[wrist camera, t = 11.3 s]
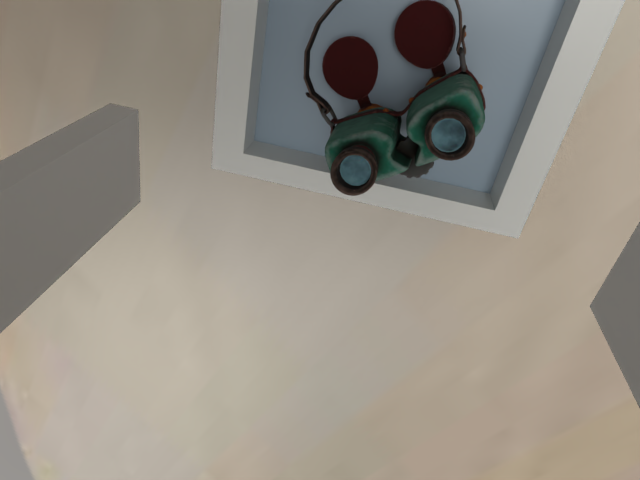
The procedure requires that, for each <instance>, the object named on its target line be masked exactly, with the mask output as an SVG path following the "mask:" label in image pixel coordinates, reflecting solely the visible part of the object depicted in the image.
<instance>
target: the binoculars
mask: <svg viewBox="0 0 640 480" xmlns="http://www.w3.org/2000/svg"><path fill="white" fill-rule="evenodd" d="M341 1H342V0H335V1H334V2H333V3H332V4H331V5H330V7H329V8H328V9H327V10H326V11H325V13H324V14H323V15H322V16H321V18H320V19H319V20H318V21H317V22H316V24H315V27H314V29H313V32H312V34H311V37H310V39H309V42H308V44H307V47H306V49H305V52H304V76H303V78H304V81H305V84H306V86H307V89H308V91H309V93H308V92H306V96H307V97H308V98H311V99H312V100H313V101H315V102H316V103H317V106H318V108H319V110H320V113H321V115H322V117H323V118H324V119H325V121H326V122H327V124H328V125H330V127H331V131H330V134H331V135H330V137H329V139H328V141H327V143H326V146H325V158H326V162H327V165H328V167H329V170H330V176H331V180H332V183H333V185H334V186H335V188H336V189H337V190H338V191H340V192H341V193H343V194H346V195H350V196H356V195H360V194H363V193H365V192H367V191H368V190H369V189H370V188H371V187H372V186H373V184H374V183H375V181H379V180H382V179H385V178H389V177H392V176H394V175H397V174H401V175H405V176H407V178H412V177H416V178H420V176H421V175H423V174H425V175H426V174H427V173H428V172H429V169H430V168H432V167H433V165H434V161H436V160H438V159H443V160H448V161H453V160H458V159H461V158H463V157H465V156H466V155H467V154H468V153H469V152H470V151H471V150H472V148H473V146H474V143H475V137H476V136H477V135H478V134H479V133H480V132H481V130H482V128H483V126H484V123H485V112H484V110H485V108H486V105H485V98H484V95H483V93H482V89H483V86H482V85H481V84H479V83H478V81H477V79H476V78H475V77H474V75H473V74H472V73H471V72H470V71H469V70H468V68H467V65H466V60H465V55H466V47H465V41H464V38H465V37H466V32H465V30H466V25H464V26H463V28H462V11H461V8H460V4H459V1H458V0H455V3H456V6H457V9H458V15H459V39H458V43H457V47H456V51H457V54H458V56H459V60H460V67H459V69H457V70H456V71H453V72H450V73H448V74H446V71H445V67H444V64H443V62H444V61H445V60H446V59H447V58H448V56H449V54H450V52H451V51H452V48H453V45H454V42H455V36H456V25H455V20H454V17H453V15H452V13H451V12H450V10H449V9H448V8H447V7H446V6H444V5H443V4H441V3H439V2H436V1H431V0H420V1H417V2H414V3H413V4H411V5H409V6H408V7H407V8H406V9H405V10H404V11H403V12H402V13H401V14H400V16H399V17H398V20H397V22H396V25H395V30H394V39H395V43H396V46H397V48H398V50H399V52H400V53H401V55H402V56H403V57H404V58H405V59H406V60H407V61H408V62H410V63H411V64H413V65H414V66H417V67H419V68H423V69H432V73H433V77H432V78H430V79H429V81H428V82H427V83H426V86H425V87H424V88H423V89H421V90H420V91H419V92H418V93H417V94H416V95H415V96H414V97H411V98H410V99H409V104H408V106H407V107H406V108H405V109H404V110H402V111H398V112H397V111H395V110H393V109H390V108H386V107H382V106H380V105H378V104H373V103H371V102H370V99H369V96H368V94H369V93H370V92H371V91H372V89H373V87H374V85H375V83H376V79H377V76H378V59H377V55H376V53H375V51H374V49H373V47H372V46H371V45H370V44H369V43H368V42H367V41H365V40H364V39H362V38H359V37H355V36H345V37H342V38H339V39H338V40H336V41H334V42H333V43H332V44H331V45H330V46H329V47H328V49H327V51H326V52H325V55H324V57H323V63H322V69H323V74H324V78H325V80H326V82H327V83H328V85H329V86H330V87H331V88H332V89H333V90H334V91H335V92H336V93H337V94H339V95H341V96H342V97H345V98H347V99H351V100H357V101H358V104H359V106H360V109H359V111H358V112H357V113H355V114H351V115H348V116H346V117H344V118H341V119H337V117H336V115H335V113H334V111H333V109H332V107H331V105H330V104H329V103H328V102H327V101H326V100H325V99H324V98H322V97H321V96H320V95H319V94H318V93H316V92H315V90H314V87H313V84H312V82H311V79H310V76H309V69H310V50H311V48H312V46H313V43H314V41H315V38H316V36H317V33H318V31H319V28H320V26H321V24H322V22H323V21H324V20H325V19H326V18H327V16H328V15H329V14H330V13H331V12H332V10H333V9H334V8H335V7H336V5H337V4H338V3H340V2H341ZM461 42H462V47H463V48H462V47H460V45H461ZM407 110H408V113H407V118H406V131H407V135H408V136H407V137H404V136H403V135H401V134H400V128H401V123H402V119H401V116H402V115H403V114H405V113H406V112H407ZM329 112H330V114H331V115H332V117H333V119H332V120H331V121H330V119H329V118H328V117H327V115H326V114H328V113H329ZM335 124H337V125H336V126H335Z"/></svg>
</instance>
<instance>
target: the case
mask: <svg viewBox="0 0 640 480" xmlns="http://www.w3.org/2000/svg"><path fill="white" fill-rule="evenodd" d="M334 1H335V0H222V2H221V18H220V34H219V51H218V67H217V83H216V99H215V116H214V132H213V148H212V165H211V168H212V169H217V170H221V171H225V172H230V173H234V174H238V175H243V176H247V177H251V178H256V179H260V180H265V181H269V182H273V183H278V184H282V185H286V186H291V187H295V188H299V189H304V190H308V191H313V192H317V193H321V194H326V195H330V196H334V197H339V198H343V199H347V200H352V201H356V202H361V203H365V204H369V205H374V206H378V207H382V208H387V209H391V210H396V211H400V212H404V213H409V214H413V215H417V216H422V217H426V218H430V219H435V220H439V221H444V222H448V223H452V224H457V225H461V226H465V227H470V228H474V229H478V230H483V231H487V232H492V233H496V234H500V235H505V236H509V237H513V238H519V236H520V234H521V231H522V229H523V227H524V225H525V223H526V220H527V218H528V216H529V214H530V211H531V209H532V207H533V205H534V202H535V200H536V198H537V196H538V194H539V191H540V189H541V187H542V185H543V182H544V180H545V178H546V176H547V174H548V171H549V169H550V167H551V165H552V162H553V160H554V158H555V156H556V153H557V151H558V149H559V147H560V145H561V142H562V140H563V138H564V136H565V133H566V131H567V129H568V127H569V124H570V122H571V120H572V118H573V116H574V113H575V111H576V109H577V107H578V104H579V102H580V100H581V98H582V96H583V93H584V91H585V89H586V87H587V84H588V82H589V80H590V78H591V75H592V73H593V71H594V69H595V67H596V64H597V62H598V60H599V58H600V55H601V53H602V51H603V49H604V47H605V44H606V42H607V40H608V38H609V35H610V33H611V31H612V29H613V26H614V24H615V22H616V20H617V18H618V15H619V13H620V11H621V9H622V6H623V4H624V2H625V0H458V1H459V4H460V8H461V11H462V28H463V26H464V25H466V30H465V32H466V37H465V38H464V41H465V47H466V55H465V60H466V65H467V68H468V70H469V71H470V72H471V73H472V74H473V75H474V77H475V78H476V79H477V81H478V83H479V84H481V85H482V86H483V89H482V93H483V95H484V98H485V105H486V108H485V110H484V112H485V123H484V126H483V128H482V130H481V132H480V133H479V134H478V135H477V136H476V137H475V143H474V146H473V148H472V150H471V151H470V152H469V153H468V154H467V155H466V156H465V157H463V158H461V159H458V160H453V161H448V160H443V159H438V160H436V161H434V165H433V167H432V168H430V169H429V172H428V173H427V174H426V175H425V174H423V175H421V176H420V178H416V177H412V178H407V176H405V175H401V174H397V175H394V176H392V177H389V178H385V179H382V180H379V181H375V183H374V184H373V186H372V187H371V188H370V189H369V190H368V191H367V192H365V193H363V194H360V195H356V196H350V195H346V194H343V193H341V192H340V191H338V190H337V189H336V188H335V186H334V185H333V183H332V180H331V176H330V170H329V167H328V165H327V162H326V158H325V146H326V143H327V141H328V139H329V137H330V135H331V134H330V131H331V127H330V125H328V124H327V122H326V121H325V119H324V118H323V117H322V115H321V113H320V110H319V108H318V106H317V103H316V102H315V101H313V100H312V99H311V98H308V97H307V96H306V92H308V93H309V91H308V89H307V86H306V84H305V81H304V78H303V76H304V52H305V49H306V47H307V44H308V42H309V39H310V37H311V34H312V32H313V29H314V27H315V24H316V22H317V21H318V20H319V19H320V18H321V16H322V15H323V14H324V13H325V11H326V10H327V9H328V8H329V7H330V5H331V4H332V3H333V2H334ZM417 1H420V0H342V1H341V2H340V3H338V4H337V5H336V7H335V8H334V9H333V10H332V12H331V13H330V14H329V15H328V16H327V18H326V19H325V20H324V21H323V22H322V24H321V26H320V28H319V31H318V33H317V36H316V38H315V41H314V43H313V46H312V48H311V50H310V69H309V76H310V79H311V82H312V84H313V87H314V90H315V92H316V93H318V94H319V95H320V96H321V97H322V98H324V99H325V100H326V101H327V102H328V103H329V104H330V105H331V107H332V109H333V111H334V113H335V115H336V117H337V119H341V118H344V117H346V116H348V115H351V114H355V113H357V112H358V111H359V109H360V106H359V104H358V101H357V100H351V99H347V98H345V97H342V96H341V95H339V94H337V93H336V92H335V91H334V90H333V89H332V88H331V87H330V86H329V85H328V83H327V82H326V80H325V78H324V74H323V69H322V63H323V57H324V55H325V52H326V51H327V49H328V47H329V46H330V45H331V44H332V43H333V42H334V41H336V40H338V39H339V38H342V37H345V36H355V37H359V38H362V39H364V40H365V41H367V42H368V43H369V44H370V45H371V46H372V47H373V49H374V51H375V53H376V55H377V59H378V76H377V79H376V83H375V85H374V87H373V89H372V91H371V92H370V93H369V94H368V96H369V99H370V102H371V103H373V104H378V105H380V106H382V107H386V108H390V109H393V110H395V111H397V112H398V111H402V110H404V109H405V108H406V107H407V106H408V104H409V99H410V98H411V97H414V96H415V95H416V94H417V93H418V92H419V91H420V90H421V89H423V88H424V87H425V86H426V83H427V82H428V81H429V79H430V78H432V77H433V73H432V69H423V68H419V67H417V66H414V65H413V64H411V63H410V62H408V61H407V60H406V59H405V58H404V57H403V56H402V55H401V53H400V52H399V50H398V48H397V46H396V43H395V39H394V30H395V25H396V22H397V20H398V17H399V16H400V14H401V13H402V12H403V11H404V10H405V9H406V8H407V7H408V6H409V5H411V4H413V3H414V2H417ZM431 1H436V2H439V3H441V4H443V5H444V6H446V7H447V8H448V9H449V10H450V12H451V13H452V15H453V17H454V20H455V25H456V36H455V42H454V45H453V48H452V51H451V52H450V54H449V56H448V58H447V59H446V60H445V61H444V62H443V64H444V67H445V71H446V74H448V73H450V72H453V71H456V70H457V69H459V67H460V60H459V56H458V54H457V51H456V47H457V43H458V39H459V15H458V9H457V6H456V3H455V0H431ZM460 47H462V42H461V45H460ZM462 48H463V47H462ZM407 113H408V110H407V112H406V113H405V114H403V115H402V116H401V119H402V123H401V128H400V134H401V135H403V136H404V137H407V136H408V135H407V131H406V118H407ZM326 115H327V117H328V118H329V119H330V121H331V120H332V119H333V117H332V115H331V114H330V112H329V113H328V114H326ZM336 125H337V124H335V126H336Z"/></svg>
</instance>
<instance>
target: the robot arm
mask: <svg viewBox="0 0 640 480" xmlns="http://www.w3.org/2000/svg"><path fill="white" fill-rule="evenodd" d="M139 202H140V161H139V119H138V109H133V108H129V107H125V106H120V105H116V104H111V103H110V104H108V105H106V106H105V107H103V108H101V109H99V110H97V111H95V112H93V113H91V114H89V115H87V116H85V117H84V118H82V119H80V120H78V121H76V122H74V123H72V124H70V125H68V126H66V127H64V128H63V129H61V130H59V131H57V132H55V133H53V134H51V135H49V136H47V137H45V138H43V139H42V140H40V141H38V142H36V143H34V144H32V145H30V146H28V147H26V148H24V149H23V150H21V151H19V152H17V153H15V154H13V155H11V156H9V157H7V158H5V159H3V160H2V161H0V333H1V332H2V331H3V330H4V329H5V328H6V327H8V326H9V325H10V324H11V323H12V322H13V321H14V320H15V319H16V318H17V317H18V316H19V315H20V314H21V313H22V312H23V311H25V310H26V309H27V308H28V307H29V306H30V305H31V304H32V303H33V302H34V301H35V300H36V299H37V298H38V297H39V296H40V295H42V294H43V293H44V292H45V291H46V290H47V289H48V288H49V287H50V286H51V285H52V284H53V283H54V282H55V281H56V280H57V279H59V278H60V277H61V276H62V275H63V274H64V273H65V272H66V271H67V270H68V269H69V268H70V267H71V266H72V265H73V264H74V263H76V262H77V261H78V260H79V259H80V258H81V257H82V256H83V255H84V254H85V253H86V252H87V251H88V250H89V249H90V248H91V247H93V246H94V245H95V244H96V243H97V242H98V241H99V240H100V239H101V238H102V237H103V236H104V235H105V234H106V233H107V232H108V231H110V230H111V229H112V228H113V227H114V226H115V225H116V224H117V223H118V222H119V221H120V220H121V219H122V218H123V217H124V216H125V215H127V214H128V213H129V212H130V211H131V210H132V209H133V208H134V207H135V206H136V205H137V204H138V203H139ZM590 308H591V310H592V312H593V314H594V316H595V318H596V320H597V322H598V324H599V326H600V328H601V330H602V332H603V334H604V336H605V338H606V340H607V342H608V344H609V346H610V349H611V351H612V353H613V355H614V357H615V359H616V361H617V363H618V365H619V367H620V369H621V371H622V373H623V375H624V377H625V379H626V381H627V383H628V385H629V387H630V389H631V391H632V394H633V396H634V398H635V400H636V402H637V404H638V406H639V408H640V222H639V224H638V225H637V227H636V229H635V230H634V232H633V234H632V236H631V237H630V239H629V241H628V242H627V244H626V246H625V247H624V249H623V251H622V252H621V254H620V256H619V258H618V259H617V261H616V263H615V264H614V266H613V268H612V269H611V271H610V273H609V274H608V276H607V278H606V280H605V281H604V283H603V285H602V286H601V288H600V290H599V291H598V293H597V295H596V296H595V298H594V300H593V302H592V303H591V305H590Z"/></svg>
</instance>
